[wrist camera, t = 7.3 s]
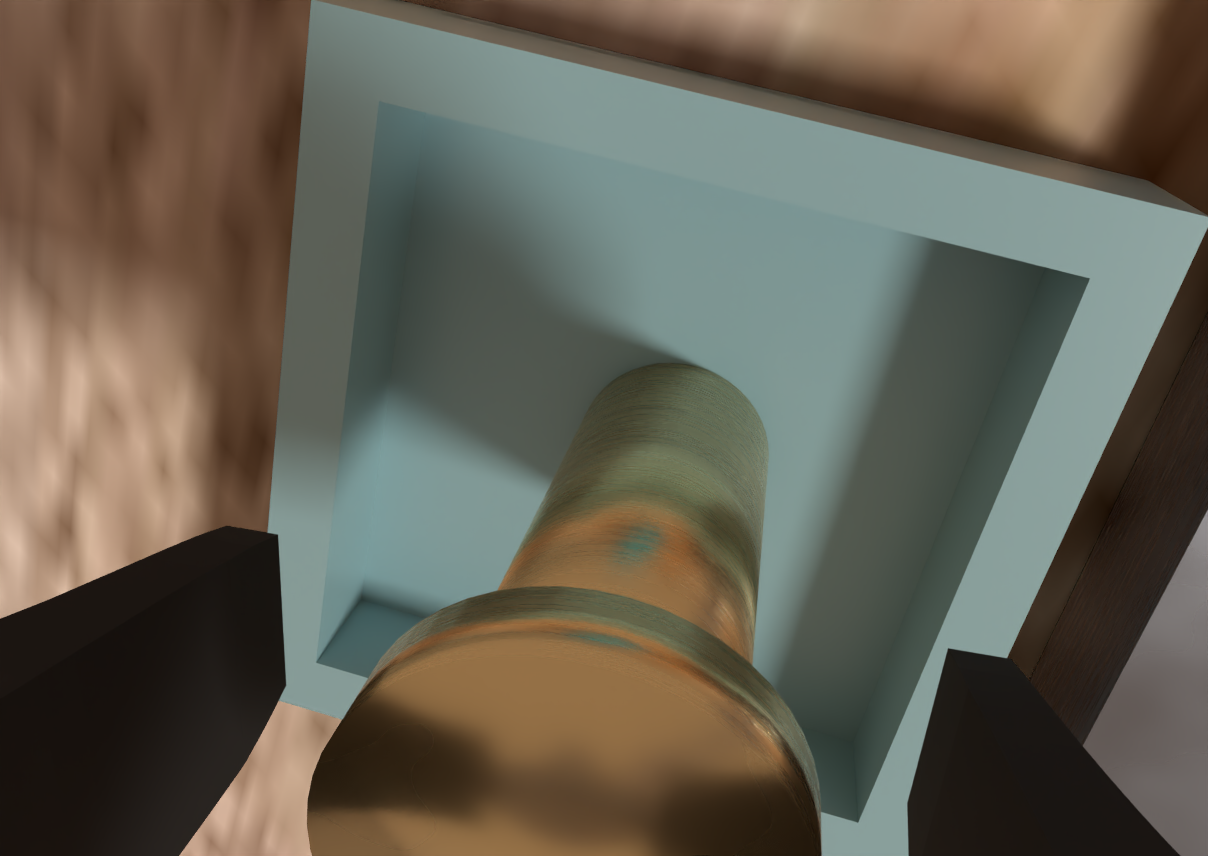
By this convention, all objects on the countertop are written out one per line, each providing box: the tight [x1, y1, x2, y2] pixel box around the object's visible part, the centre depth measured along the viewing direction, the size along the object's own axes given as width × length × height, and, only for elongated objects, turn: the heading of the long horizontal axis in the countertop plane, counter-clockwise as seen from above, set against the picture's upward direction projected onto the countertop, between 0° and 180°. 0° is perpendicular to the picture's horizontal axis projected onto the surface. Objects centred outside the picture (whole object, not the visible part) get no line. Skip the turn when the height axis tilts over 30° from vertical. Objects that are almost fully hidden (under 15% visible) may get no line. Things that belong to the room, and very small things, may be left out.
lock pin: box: [307, 363, 822, 856], centre depth 13 cm, size 4×4×8 cm
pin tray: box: [268, 0, 1208, 856], centre depth 16 cm, size 11×11×2 cm
